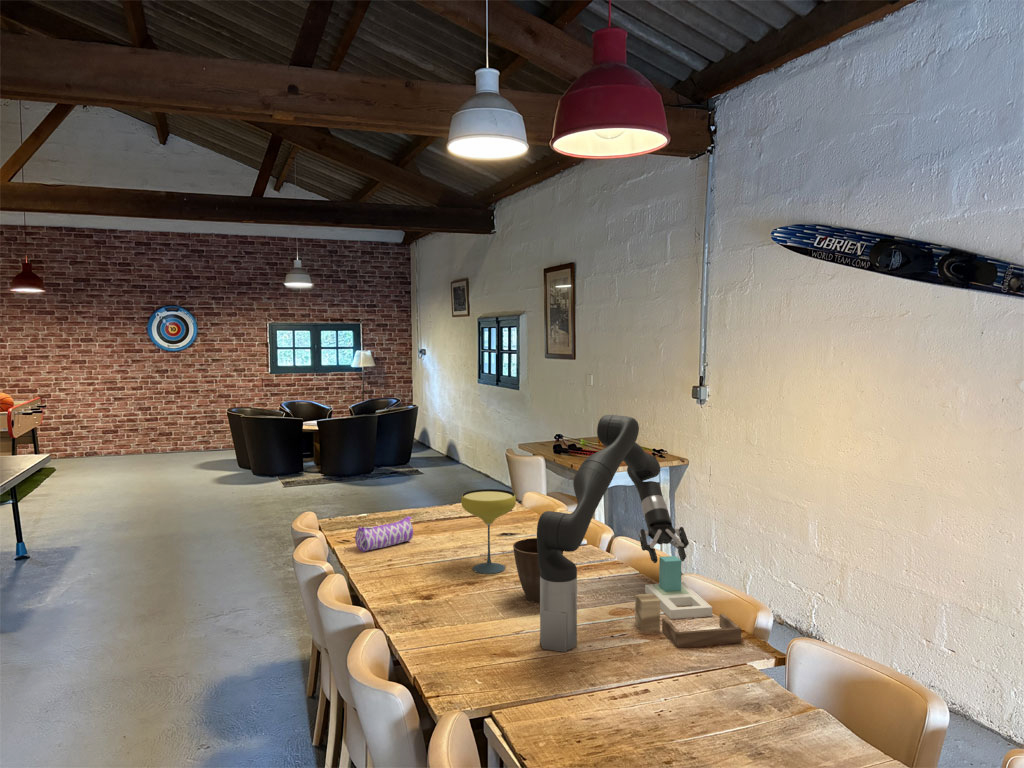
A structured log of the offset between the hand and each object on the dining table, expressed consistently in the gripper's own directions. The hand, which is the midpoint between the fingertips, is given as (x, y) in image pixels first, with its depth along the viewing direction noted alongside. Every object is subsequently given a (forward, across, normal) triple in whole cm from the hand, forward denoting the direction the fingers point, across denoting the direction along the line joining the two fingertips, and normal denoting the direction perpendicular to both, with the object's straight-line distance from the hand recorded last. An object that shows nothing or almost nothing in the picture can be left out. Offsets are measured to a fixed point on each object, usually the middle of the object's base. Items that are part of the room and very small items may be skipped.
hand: (669, 561), depth 208 cm
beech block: (+22, -14, -8) cm, 27 cm away
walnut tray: (+28, -3, -13) cm, 31 cm away
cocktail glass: (-16, -50, +31) cm, 61 cm away
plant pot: (+5, -39, +10) cm, 41 cm away
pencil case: (-39, -85, +54) cm, 108 cm away
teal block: (+7, -1, +4) cm, 8 cm away
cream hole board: (+12, 0, +2) cm, 13 cm away
